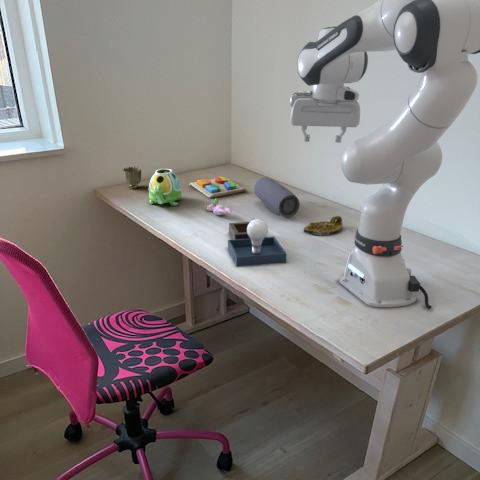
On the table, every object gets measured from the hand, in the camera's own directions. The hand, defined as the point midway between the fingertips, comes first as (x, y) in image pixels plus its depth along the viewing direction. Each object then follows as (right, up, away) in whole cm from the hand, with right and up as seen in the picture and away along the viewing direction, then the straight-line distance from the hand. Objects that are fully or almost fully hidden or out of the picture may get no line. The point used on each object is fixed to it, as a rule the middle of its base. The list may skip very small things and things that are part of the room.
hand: (322, 141), depth 152 cm
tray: (-20, -34, +4) cm, 39 cm away
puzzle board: (-34, 0, +59) cm, 68 cm away
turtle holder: (-54, -9, +43) cm, 70 cm away
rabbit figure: (-33, -15, +34) cm, 49 cm away
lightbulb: (-20, -33, +4) cm, 39 cm away
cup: (-69, +1, +59) cm, 91 cm away
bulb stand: (-23, -27, +15) cm, 38 cm away
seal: (+4, -23, +23) cm, 32 cm away
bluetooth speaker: (-11, -12, +39) cm, 42 cm away
